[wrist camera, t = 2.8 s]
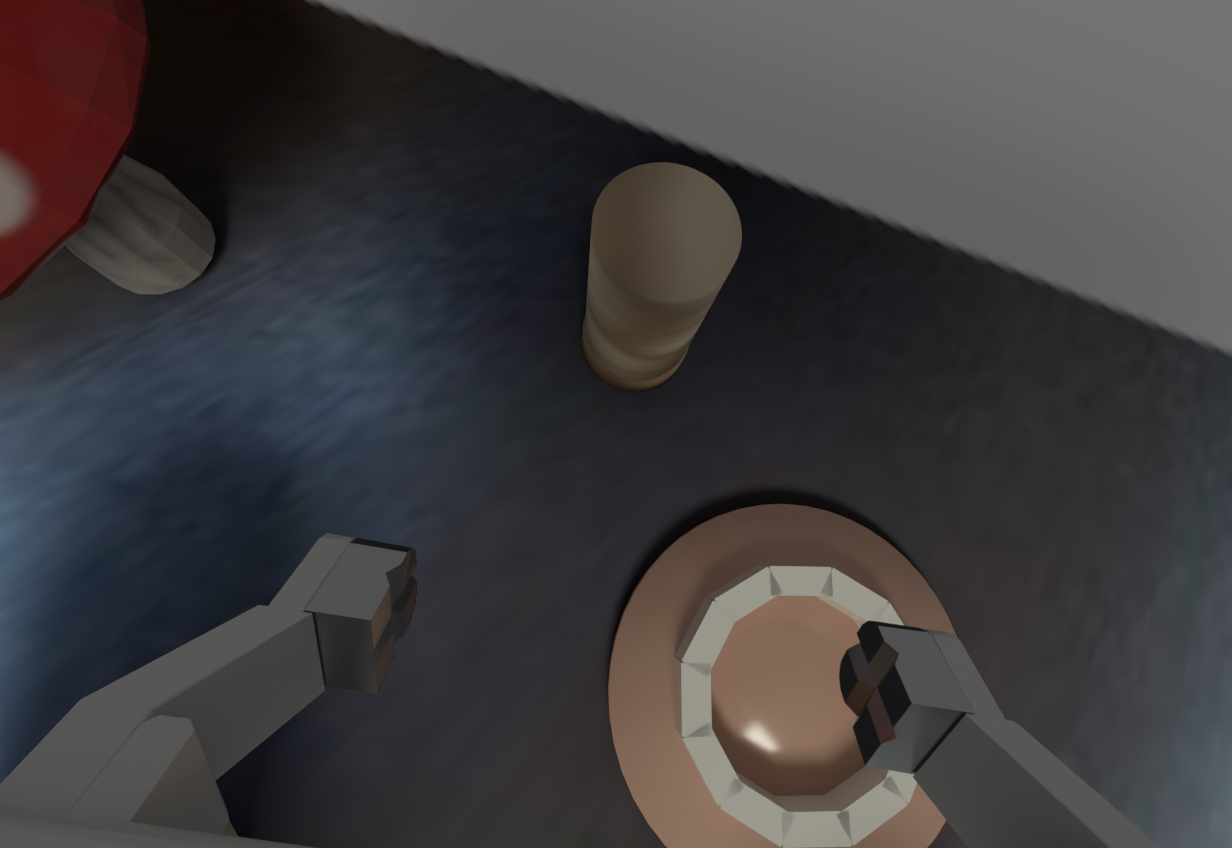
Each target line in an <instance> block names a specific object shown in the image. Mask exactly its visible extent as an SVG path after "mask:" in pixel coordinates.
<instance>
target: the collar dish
mask: <svg viewBox="0 0 1232 848" xmlns="http://www.w3.org/2000/svg"><path fill="white" fill-rule="evenodd" d="M869 620H870V621H877V622H884V623H891V624H897V625H904V626H911V627H918V628H921V629H930V630H936V631H943V632H949V633H953V634H954V635H955V636H956V634H955V632H954V630H953V627H952V625H951V623H950V620H949V618H948V616H947V614H946V612H945V611H944V609H943V607H942V605H941V603H940V602H939V600H938V598H937V596H936V595H935V593H934V592H933V591H932V589H931V588H930V586H929V585H928V584H927V582H926V581H925V579H924V578H923V577H922V575H921V574H920V573H919V572H918V571H917V570H916V569H915V568H914V567H913V565H912V564H911V563H910V562H909V561H908V560H907V559H906V558H905V557H904V556H903V555H902V554H901V553H900V552H898V551H897V550H896V549H895V548H894V547H893V546H892V545H890V544H889V543H888V542H887V541H885V540H884V539H882V538H881V537H879V536H878V535H876V534H875V533H874V532H872V531H871V530H869V529H867V528H866V527H864V526H862V525H860V524H858V523H856V522H854V521H852V520H850V519H848V518H845V517H843V516H840V515H837V514H835V513H832V512H829V511H826V510H822V509H817V508H813V507H808V506H802V505H791V504H768V505H758V506H752V507H747V508H741V509H737V510H734V511H731V512H728V513H725V514H722V515H719V516H716V517H714V518H711V519H709V520H707V521H705V522H703V523H701V524H699V525H697V526H695V527H694V528H692V529H691V530H689V531H688V532H686V533H685V534H683V535H682V536H680V537H679V538H677V539H676V540H675V541H674V542H673V543H672V544H671V545H670V546H668V547H667V548H666V549H665V550H664V551H663V552H662V553H661V554H660V555H659V556H658V557H657V558H656V559H655V561H654V562H653V563H652V564H651V565H650V566H649V568H648V569H647V570H646V571H645V573H644V574H643V576H642V577H641V579H640V580H639V582H638V584H637V585H636V587H635V588H634V590H633V591H632V593H631V596H630V598H629V600H628V602H627V604H626V606H625V608H624V610H623V612H622V615H621V618H620V621H619V624H618V627H617V630H616V633H615V636H614V641H613V646H612V651H611V656H610V661H609V673H608V686H607V687H608V711H609V719H610V725H611V731H612V737H613V742H614V746H615V749H616V753H617V756H618V760H619V763H620V767H621V770H622V773H623V775H624V778H625V780H626V782H627V785H628V787H629V789H630V792H631V794H632V796H633V799H634V800H635V802H636V804H637V805H638V807H639V809H640V811H641V812H642V814H643V816H644V817H645V819H646V821H647V823H648V824H649V825H650V826H651V828H652V829H653V830H654V832H655V833H656V834H657V836H658V837H659V838H660V839H661V841H662V842H663V843H664V845H665V846H666V847H667V848H928V847H929V845H930V844H931V843H932V842H933V840H934V839H935V838H936V836H937V835H938V833H939V831H940V830H941V828H942V826H943V825H944V823H945V821H946V819H945V817H944V816H943V815H942V814H941V812H940V811H939V810H938V809H937V807H936V806H935V805H934V803H933V802H932V801H931V800H930V798H929V797H928V796H927V794H926V793H925V792H924V791H923V789H922V788H921V787H920V786H919V784H918V783H917V782H916V780H915V779H914V778H913V776H914V774H908V773H903V772H897V771H892V770H886V769H880V768H875V767H869V766H865V764H864V761H863V758H862V755H861V752H860V749H859V746H858V743H857V740H856V737H855V734H854V730H853V725H854V722H855V720H856V717H857V716H856V715H855V713H854V712H853V711H852V710H851V709H850V708H849V707H848V706H847V705H846V704H845V703H844V699H843V696H842V693H841V689H840V682H839V671H840V663H841V660H842V658H843V656H844V654H845V652H846V650H847V649H849V648H851V647H852V646H854V645H856V644H858V643H860V641H859V639H858V636H857V632H858V630H859V629H860V627H861V626H862V624H864V623H865V622H867V621H869Z"/></svg>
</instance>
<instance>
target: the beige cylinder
mask: <svg viewBox="0 0 1232 848" xmlns="http://www.w3.org/2000/svg"><path fill="white" fill-rule="evenodd" d="M741 242H742V228H741V222H740V218H739V214H738V212H737V210H736V207H735V205H734V203H733V202H732V200H731V198H730V197H729V196H728V194H727V193H726V192H725V191H724V190H723V188H722V187H721V186H720V185H719V184H717V183H716V182H715V181H714V180H713V179H711V178H710V177H708V176H707V175H705V174H704V173H702V172H700V171H698V170H696V169H693V168H690V167H687V166H684V165H680V164H675V163H667V162H656V163H647V164H643V165H639V166H636V167H633V168H630V169H628V170H626V171H624V172H622V173H621V174H619V175H618V176H617V177H615V178H614V179H613V180H612V181H611V182H610V183H608V185H607V186H606V187H605V188H604V189H603V191H602V192H601V194H600V196H599V197H598V199H597V202H596V204H595V207H594V211H593V215H592V226H591V241H590V257H589V272H588V287H587V303H586V314H585V317H584V321H583V332H582V348H583V353H584V356H585V359H586V361H587V363H588V365H589V367H590V368H591V370H592V371H593V372H594V374H595V375H596V376H597V377H598V378H600V379H601V380H602V381H603V382H605V383H606V384H608V385H610V386H612V387H614V388H617V389H619V390H624V391H630V392H641V391H647V390H651V389H654V388H656V387H659V386H660V385H662V384H664V383H665V382H666V381H668V380H669V379H670V378H671V377H672V376H673V375H674V374H675V372H676V371H677V370H678V368H679V366H680V365H681V363H682V361H683V359H684V357H685V355H686V354H687V351H688V348H689V345H690V342H691V341H692V339H693V337H694V335H695V333H696V332H697V330H698V328H699V326H700V324H701V323H702V321H703V319H704V317H705V316H706V314H707V312H708V310H709V308H710V307H711V305H712V303H713V301H714V299H715V298H716V296H717V294H718V292H719V290H720V289H721V287H722V285H723V283H724V282H725V280H726V278H727V276H728V274H729V273H730V271H731V269H732V267H733V265H734V263H735V261H736V260H737V257H738V254H739V252H740V248H741Z"/></svg>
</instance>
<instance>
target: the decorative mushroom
mask: <svg viewBox="0 0 1232 848" xmlns="http://www.w3.org/2000/svg"><path fill="white" fill-rule="evenodd" d="M150 51H151V49H150V42H149V36H148V30H147V24H146V18H145V12H144V6H143V0H0V301H1V300H3V299H5V298H7V297H9V296H10V295H12V294H13V293H14V292H15V291H16V290H17V289H18V288H19V287H20V286H21V285H22V284H23V283H24V282H26V281H27V280H28V279H29V278H30V277H31V276H32V275H33V274H34V273H35V272H36V271H37V270H38V269H39V268H40V267H42V266H43V265H44V264H45V263H46V262H47V261H48V260H49V259H50V258H51V257H52V256H53V255H54V254H55V253H56V252H57V251H59V250H60V249H61V248H62V247H63V246H64V245H65V246H66V247H67V248H68V249H69V250H70V251H71V252H72V253H73V254H74V255H75V256H77V257H78V258H80V259H81V260H82V261H84V262H85V263H87V264H88V265H90V266H91V267H92V268H94V269H95V270H97V271H98V272H99V273H101V274H102V275H104V276H105V277H106V278H108V279H109V280H111V281H112V282H114V283H115V284H116V285H118V286H120V287H123V288H125V289H127V290H130V291H132V292H135V293H137V294H164V293H167V292H170V291H174V290H177V289H181V288H183V287H185V286H186V285H188V284H189V283H191V282H192V281H193V280H195V279H196V278H198V277H199V276H201V275H202V273H203V272H204V270H205V269H206V267H207V266H208V264H209V263H210V261H211V259H212V258H213V252H214V246H215V235H214V232H213V228H212V225H211V222H210V221H209V220H208V219H207V218H206V217H205V216H204V215H203V214H202V213H201V212H200V210H199V209H198V208H197V207H196V206H195V205H193V204H192V203H191V202H190V201H189V200H188V199H187V198H186V197H185V196H184V195H183V194H182V193H181V192H180V191H179V190H178V189H177V188H176V187H175V186H174V185H173V184H172V183H170V182H169V181H168V180H167V179H166V178H165V177H164V176H163V175H162V174H161V173H159V172H157V171H155V170H153V169H151V168H149V167H147V166H145V165H143V164H141V163H140V162H138V161H136V160H134V159H132V158H130V157H128V156H126V155H124V153H125V152H126V150H127V148H128V146H129V144H130V142H131V140H132V139H133V137H134V132H135V127H136V122H137V116H138V111H139V106H140V101H141V96H142V91H143V86H144V81H145V76H146V71H147V66H148V61H149V56H150Z"/></svg>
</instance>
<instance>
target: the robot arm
mask: <svg viewBox="0 0 1232 848" xmlns="http://www.w3.org/2000/svg"><path fill="white" fill-rule="evenodd" d="M416 564H417V563H416V550H415V549H413V548H409V547H404V546H399V545H393V544H388V543H383V542H377V541H372V540H366V539H361V538H353V537H347V536H342V535H337V534H331V533H326V534H325V535H323V536H322V537H320V538H319V539H318V540H317V541H316V543H315V544H314V545H313V547H312V548H311V549H310V551H309V552H308V553H307V555H306V556H305V557H304V559H303V560H302V561H301V563H300V564H299V565H298V567H297V568H296V569H295V571H294V572H293V573H292V575H291V576H290V577H289V579H288V580H287V581H286V583H285V584H284V585H283V587H282V588H281V589H280V591H279V592H278V593H277V595H276V596H275V597H274V599H273V600H272V601H271V603H270V604H269V605H268V606H263V605H257V606H256V607H254V608H252V609H250V610H248V611H246V612H244V613H242V614H241V615H239V616H237V617H235V618H233V619H231V620H229V621H227V622H225V623H224V624H222V625H220V626H218V627H216V628H214V629H212V630H210V631H209V632H207V633H205V634H203V635H201V636H199V637H197V638H195V639H193V640H192V641H190V642H188V643H186V644H184V645H182V646H180V647H178V648H177V649H175V650H173V651H171V652H169V653H167V654H165V655H163V656H161V657H160V658H158V659H156V660H154V661H152V662H150V663H148V664H146V665H145V666H143V667H141V668H139V669H137V670H135V671H133V672H131V673H130V674H128V675H126V676H124V677H122V678H120V679H118V680H116V681H114V682H113V683H111V684H109V685H107V686H105V687H103V688H101V689H99V690H98V691H96V692H94V693H92V694H90V695H88V696H86V697H84V698H82V699H81V700H79V701H78V702H77V704H76V705H75V706H74V707H73V708H72V709H71V710H70V711H69V712H68V713H67V714H66V715H65V716H64V717H63V718H62V719H61V720H60V721H59V723H58V724H57V725H56V726H55V727H54V728H53V729H52V730H51V731H50V732H49V733H48V734H47V735H46V736H45V737H44V738H43V739H42V740H41V742H40V743H39V744H38V745H37V746H36V747H35V748H34V749H33V750H32V751H31V752H30V753H29V754H28V755H27V756H26V757H25V758H24V759H23V761H22V762H21V763H20V764H19V765H18V766H17V767H16V768H15V769H14V770H13V771H12V772H11V773H10V774H9V775H8V776H7V777H6V778H5V780H4V781H3V782H2V783H1V784H0V848H318V847H311V846H304V845H296V844H289V843H282V842H274V841H267V840H260V839H252V838H245V837H238V836H230V835H223V834H222V832H223V830H224V828H225V826H226V825H227V823H228V821H229V816H228V811H227V808H226V805H225V803H224V800H223V798H222V796H221V793H220V791H219V788H218V786H217V783H216V780H217V779H218V778H219V777H220V776H222V775H223V774H224V773H225V772H227V771H228V770H229V769H230V768H231V767H233V766H234V765H235V764H236V763H238V762H239V761H240V760H241V759H242V758H244V757H245V756H246V755H247V754H248V753H250V752H251V751H252V750H253V749H255V748H256V747H257V746H258V745H259V744H261V743H262V742H263V741H264V740H265V739H267V738H268V737H269V736H270V735H272V734H273V733H274V732H275V731H276V730H278V729H279V728H280V727H281V726H282V725H284V724H285V723H286V722H287V721H289V720H290V719H291V718H292V717H293V716H295V715H296V714H297V713H298V712H299V711H301V710H302V709H303V708H304V707H306V706H307V705H308V704H309V703H310V702H312V701H313V700H314V699H315V698H317V697H318V696H319V695H320V694H321V693H323V692H324V691H325V687H329V688H337V689H345V690H354V691H362V692H370V693H378V692H379V690H380V687H381V685H382V683H383V681H384V679H385V677H386V674H387V672H388V670H389V668H390V666H391V664H392V661H393V659H394V645H393V643H394V642H395V641H397V640H398V639H400V638H401V637H403V636H404V635H405V633H406V630H407V628H408V626H409V623H410V621H411V618H412V614H413V611H414V607H415V604H416V596H417V581H416V580H415V579H414V578H413V576H412V575H411V574H412V572H413V570H414V568H415V566H416ZM857 636H858V639H859V641H860V643H858V644H856V645H854V646H852V647H851V648H849V649H847V650H846V652H845V654H844V656H843V658H842V660H841V663H840V671H839V682H840V689H841V693H842V696H843V699H844V703H845V704H846V705H847V706H848V707H849V708H850V709H851V710H852V711H853V712H854V713H855V715H856V716H857V717H856V720H855V722H854V725H853V730H854V734H855V737H856V740H857V743H858V746H859V749H860V752H861V755H862V758H863V761H864V764H865V766H869V767H875V768H880V769H886V770H892V771H897V772H903V773H908V774H914V776H913V778H914V779H915V780H916V782H917V783H918V784H919V786H920V787H921V788H922V789H923V791H924V792H925V793H926V794H927V796H928V797H929V798H930V800H931V801H932V802H933V803H934V805H935V806H936V807H937V809H938V810H939V811H940V812H941V814H942V815H943V816H944V817H945V819H946V820H947V821H948V823H949V824H950V825H951V826H952V828H953V829H954V830H955V831H956V833H957V834H958V835H959V837H960V838H961V839H962V840H963V842H964V843H965V844H966V845H967V847H968V848H1161V847H1159V846H1158V845H1157V844H1156V843H1155V842H1154V841H1152V840H1151V839H1150V838H1149V837H1148V836H1147V835H1145V834H1144V833H1143V832H1142V831H1141V830H1140V829H1139V828H1137V827H1136V826H1135V825H1134V824H1133V823H1132V822H1130V821H1129V820H1128V819H1127V818H1126V817H1125V816H1123V815H1122V814H1121V813H1120V812H1119V811H1118V810H1117V809H1115V808H1114V807H1113V806H1112V805H1111V804H1110V803H1108V802H1107V801H1106V800H1105V799H1104V798H1103V797H1102V796H1100V795H1099V794H1098V793H1097V792H1096V791H1095V790H1093V789H1092V788H1091V787H1090V786H1089V785H1088V784H1086V783H1085V782H1084V781H1083V780H1082V779H1081V778H1080V777H1078V776H1077V775H1076V774H1075V773H1074V772H1073V771H1071V770H1070V769H1069V768H1068V767H1067V766H1066V765H1064V764H1063V763H1062V762H1061V761H1060V760H1059V759H1058V758H1056V757H1055V756H1054V755H1053V754H1052V753H1051V752H1049V751H1048V750H1047V749H1046V748H1045V747H1044V746H1043V745H1041V744H1040V743H1039V742H1038V741H1037V740H1036V739H1034V738H1033V737H1032V736H1031V735H1030V734H1029V733H1027V732H1026V731H1025V730H1024V729H1023V728H1022V727H1021V726H1019V725H1018V724H1017V723H1016V722H1015V721H1011V720H1006V719H1005V718H1004V716H1003V714H1002V713H1001V711H1000V709H999V707H998V706H997V704H996V702H995V700H994V699H993V697H992V695H991V693H990V692H989V690H988V688H987V687H986V685H985V683H984V681H983V680H982V678H981V676H980V674H979V673H978V671H977V669H976V667H975V666H974V664H973V662H972V660H971V659H970V657H969V655H968V654H967V652H966V650H965V648H964V647H963V645H962V643H961V641H960V640H959V639H958V638H957V637H956V636H955V635H954V634H953V633H949V632H943V631H936V630H930V629H921V628H918V627H911V626H904V625H897V624H891V623H884V622H877V621H870V620H869V621H867V622H865V623H864V624H862V626H861V627H860V629H859V630H858V632H857Z"/></svg>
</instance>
